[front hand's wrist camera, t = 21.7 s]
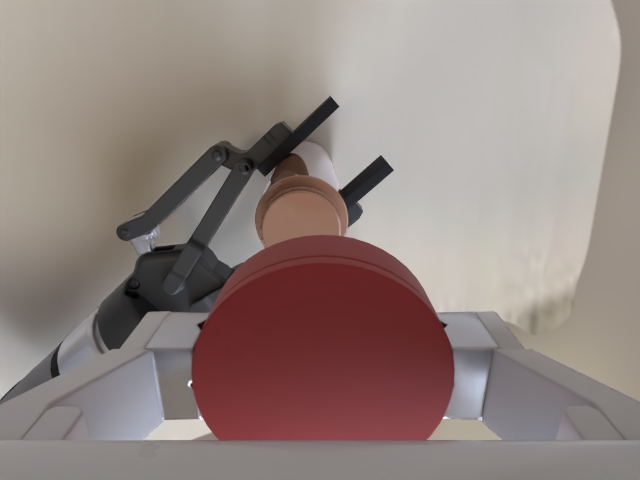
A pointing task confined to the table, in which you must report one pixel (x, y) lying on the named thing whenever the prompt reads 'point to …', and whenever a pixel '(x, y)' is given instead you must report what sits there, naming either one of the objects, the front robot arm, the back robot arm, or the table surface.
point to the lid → (322, 348)
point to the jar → (301, 198)
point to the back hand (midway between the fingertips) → (360, 132)
